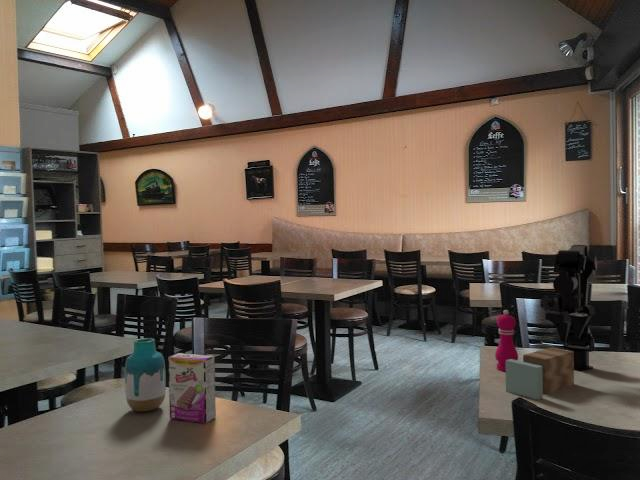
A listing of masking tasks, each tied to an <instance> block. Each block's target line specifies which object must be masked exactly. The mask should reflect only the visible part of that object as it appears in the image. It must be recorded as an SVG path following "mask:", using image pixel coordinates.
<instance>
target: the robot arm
mask: <svg viewBox="0 0 640 480" xmlns="http://www.w3.org/2000/svg"><path fill="white" fill-rule="evenodd" d="M554 258H555V259H554V265H553V266H554V267H553V273H554V274H555V273H556V274H558V276H557V277H555V278H554V280H553V283H552V287H553V289H554V290H555V292H557V293H556V296H555V298H551V299H550V298H549V297H542V298H540V302H539V303H540V307H541V308H542V309H543V310H544V320H547V321H549V322H551V323H552V324H553V325H554V326H555V328H556V330H557V333H558V336H559V338H560V341H561V343H562V345H563V346H562V347H563V348H562V349H563V350H569V351H574V370H577V371H579V372H580V371H586V370H587V371H588V370H591V369H594V366H592V365H590V353H592V352H595V349H596V347H595V338H594V337H593V334H592V333H591V330H590V326H589V325H588V323H589V321H590V320H591V318H592V316H594V315H596V309H595V307H594V306H592V305H588V300H589V299H588V297H589V283H590V282H592V280H593V278H595V275H596V271H597V269H598V260H597V255H596V254H595V253H594V252H593V251H592V250H590V249H589V245H586V244H573V245H571V247H570V248H569V249H567V250H566V249H565V250H563V249H562V250H561V249H559V250H558V251H557V253H555V257H554Z"/></svg>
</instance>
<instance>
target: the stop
mask: <svg viewBox="0 0 640 480" xmlns="http://www.w3.org/2000/svg"><path fill="white" fill-rule="evenodd" d="M505 392H508V393H512V394H515V395H518V396H521V395H524V396H523V397H525V396H527V397H526V398H528V397H529V399H532V398H534V399H533V400H535V399H537V400H536V401H539V400H542V399H543V398H544V397H543V395H544V394H543V380H542V366H540V365H535V364H531V363H526V362H523V360H522V361H521V360H513V359H509V360H506V372H505ZM541 398H542V399H541ZM538 399H539V400H538Z"/></svg>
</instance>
